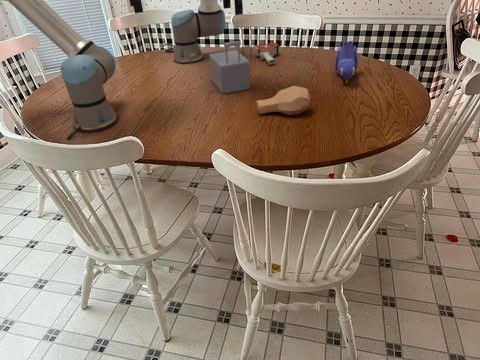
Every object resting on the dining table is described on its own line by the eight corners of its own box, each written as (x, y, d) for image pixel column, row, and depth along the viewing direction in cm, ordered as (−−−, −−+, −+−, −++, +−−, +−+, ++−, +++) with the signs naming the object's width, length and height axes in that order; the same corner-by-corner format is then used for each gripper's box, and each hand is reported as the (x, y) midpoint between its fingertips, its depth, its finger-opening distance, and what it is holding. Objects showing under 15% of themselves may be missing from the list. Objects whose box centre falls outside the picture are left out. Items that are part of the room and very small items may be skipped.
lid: (249, 63, 145) (249, 41, 140) (221, 68, 142) (219, 45, 137) (235, 52, 159) (234, 31, 153) (209, 56, 156) (207, 35, 150)
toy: (333, 77, 168) (334, 87, 145) (335, 39, 161) (336, 43, 139) (355, 77, 166) (359, 86, 143) (358, 38, 159) (363, 42, 137)
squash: (314, 116, 128) (313, 95, 122) (259, 125, 130) (256, 105, 124) (308, 99, 136) (307, 78, 129) (257, 108, 138) (253, 88, 131)
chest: (250, 88, 152) (249, 63, 146) (222, 93, 149) (220, 68, 143) (237, 76, 165) (235, 52, 159) (211, 80, 162) (209, 56, 156)
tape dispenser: (271, 69, 174) (289, 54, 187) (272, 58, 171) (290, 44, 183) (241, 62, 182) (260, 49, 194) (241, 52, 178) (260, 39, 191)
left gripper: (138, -67, 101) (153, 14, 113) (129, -68, 120) (143, 2, 132) (111, -65, 99) (129, 17, 111) (106, -66, 118) (122, 4, 131)
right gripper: (252, -58, 110) (254, 16, 122) (227, -60, 129) (231, 4, 141) (229, -56, 108) (234, 19, 120) (207, -58, 127) (213, 6, 140)
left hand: (136, 9), depth 122 cm, fingers open, 13 cm apart
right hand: (232, 11), depth 131 cm, fingers open, 13 cm apart
